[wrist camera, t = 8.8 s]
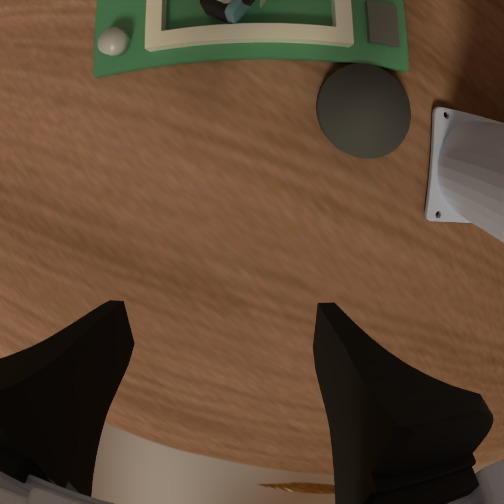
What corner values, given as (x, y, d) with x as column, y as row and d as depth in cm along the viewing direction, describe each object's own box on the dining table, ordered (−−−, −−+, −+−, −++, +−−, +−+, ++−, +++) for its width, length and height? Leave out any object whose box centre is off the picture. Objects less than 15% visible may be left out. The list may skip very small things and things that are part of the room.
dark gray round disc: (402, 73, 17) (410, 71, 16) (400, 159, 19) (408, 162, 18) (314, 61, 17) (318, 58, 16) (314, 153, 19) (318, 155, 18)
